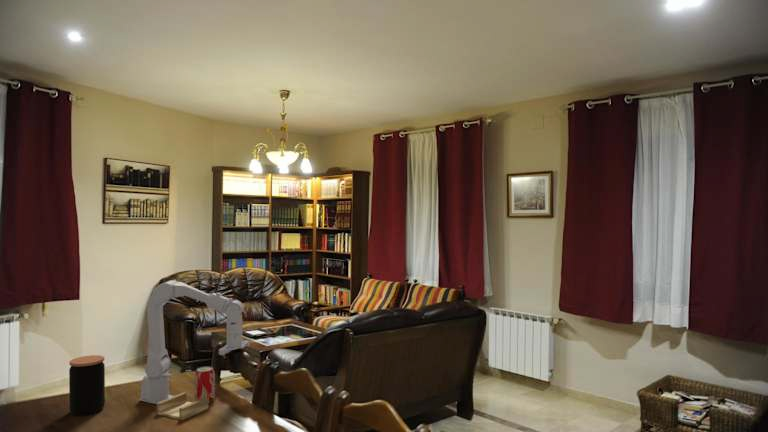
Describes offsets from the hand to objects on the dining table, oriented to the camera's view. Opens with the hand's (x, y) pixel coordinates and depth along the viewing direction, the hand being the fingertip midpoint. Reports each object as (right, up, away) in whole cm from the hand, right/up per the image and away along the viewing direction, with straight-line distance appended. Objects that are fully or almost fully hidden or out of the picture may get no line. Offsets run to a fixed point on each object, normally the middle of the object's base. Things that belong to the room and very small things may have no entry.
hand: (234, 369), depth 190 cm
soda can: (-10, -11, -4) cm, 15 cm away
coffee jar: (-48, -11, -13) cm, 51 cm away
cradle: (-14, -11, -13) cm, 22 cm away
